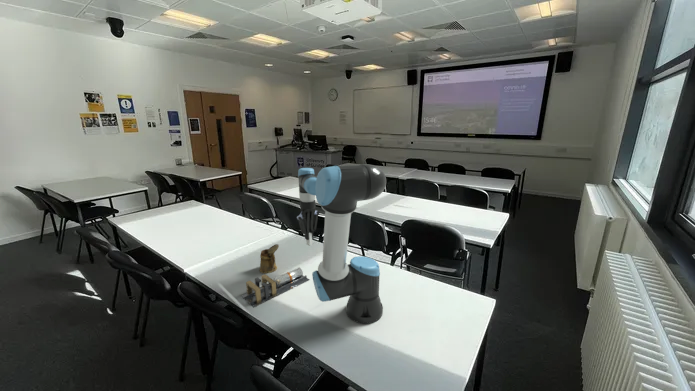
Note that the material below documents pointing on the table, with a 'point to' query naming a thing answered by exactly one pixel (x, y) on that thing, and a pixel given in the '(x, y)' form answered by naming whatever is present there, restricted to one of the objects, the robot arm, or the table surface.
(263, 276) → the collar
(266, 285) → the aperture bridge
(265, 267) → the wooden mug
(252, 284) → the collar
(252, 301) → the dark grey base rail
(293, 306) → the table surface
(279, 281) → the tube
